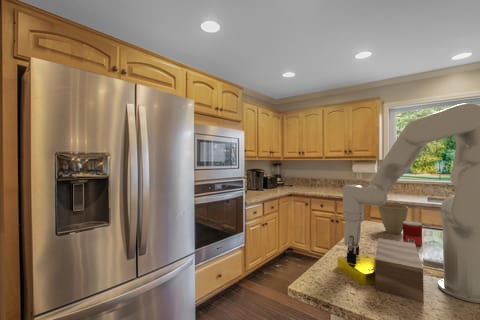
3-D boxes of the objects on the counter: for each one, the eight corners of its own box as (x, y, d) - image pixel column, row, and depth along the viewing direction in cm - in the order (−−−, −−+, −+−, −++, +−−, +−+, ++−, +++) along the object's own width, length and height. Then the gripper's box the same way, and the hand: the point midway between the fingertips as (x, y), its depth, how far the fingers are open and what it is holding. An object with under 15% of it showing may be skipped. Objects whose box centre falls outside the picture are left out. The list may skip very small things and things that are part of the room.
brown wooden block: (378, 262, 97) (378, 237, 97) (415, 269, 90) (414, 243, 90) (375, 290, 76) (375, 259, 76) (423, 302, 69) (423, 268, 69)
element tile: (362, 286, 79) (361, 272, 79) (335, 267, 93) (335, 255, 93) (398, 281, 82) (397, 268, 82) (366, 263, 96) (366, 252, 97)
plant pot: (395, 228, 144) (395, 203, 145) (415, 235, 130) (414, 207, 130) (373, 229, 143) (372, 203, 144) (390, 236, 129) (389, 208, 129)
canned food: (426, 246, 113) (425, 224, 113) (410, 246, 113) (409, 224, 113) (414, 241, 121) (414, 220, 121) (399, 241, 121) (399, 220, 121)
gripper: (346, 210, 100) (346, 249, 100) (339, 219, 85) (339, 264, 85) (365, 212, 96) (365, 253, 96) (361, 222, 81) (361, 270, 81)
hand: (353, 258), depth 91 cm, fingers open, 9 cm apart
